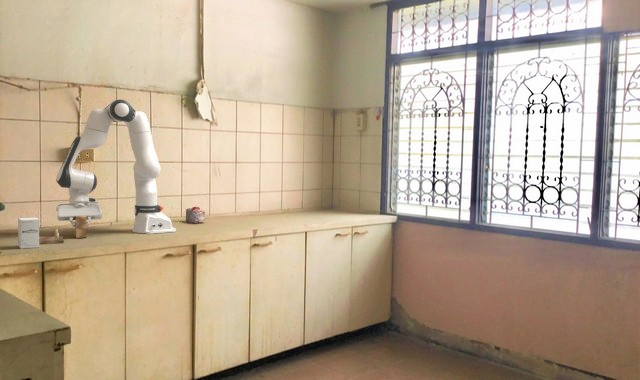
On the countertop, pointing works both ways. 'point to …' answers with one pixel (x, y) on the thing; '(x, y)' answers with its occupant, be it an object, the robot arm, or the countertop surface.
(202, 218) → the food item
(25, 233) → the supplement box
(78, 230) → the brown rectangular block
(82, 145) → the robot arm
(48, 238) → the peg stand
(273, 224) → the countertop surface
